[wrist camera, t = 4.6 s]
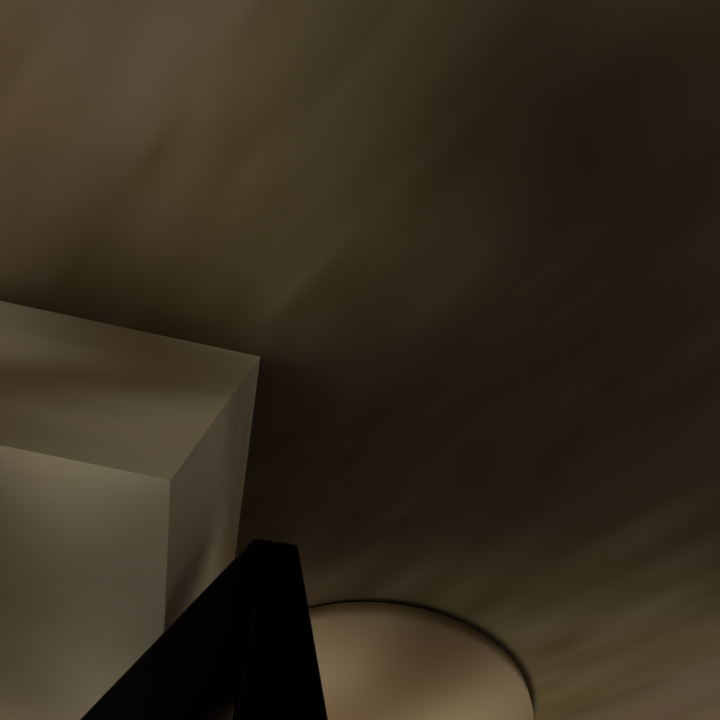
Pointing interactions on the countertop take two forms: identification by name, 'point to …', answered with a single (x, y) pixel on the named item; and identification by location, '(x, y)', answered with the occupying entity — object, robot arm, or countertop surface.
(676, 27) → the countertop surface
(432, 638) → the cork coaster
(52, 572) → the maple block
